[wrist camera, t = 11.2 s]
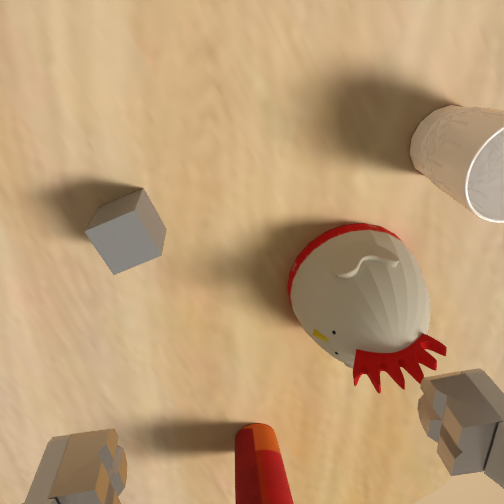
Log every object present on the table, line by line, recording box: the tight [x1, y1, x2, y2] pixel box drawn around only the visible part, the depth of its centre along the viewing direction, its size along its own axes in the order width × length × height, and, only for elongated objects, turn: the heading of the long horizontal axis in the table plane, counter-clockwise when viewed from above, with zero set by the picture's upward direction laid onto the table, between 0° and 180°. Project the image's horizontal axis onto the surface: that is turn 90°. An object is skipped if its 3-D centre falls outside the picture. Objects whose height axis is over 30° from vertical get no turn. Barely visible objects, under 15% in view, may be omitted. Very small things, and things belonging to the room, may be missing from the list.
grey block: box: [84, 188, 166, 275], centre depth 35 cm, size 4×4×6 cm
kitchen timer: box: [288, 223, 446, 393], centre depth 37 cm, size 14×14×15 cm
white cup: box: [410, 105, 504, 223], centre depth 33 cm, size 8×8×10 cm
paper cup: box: [235, 423, 293, 504], centre depth 48 cm, size 8×8×14 cm
